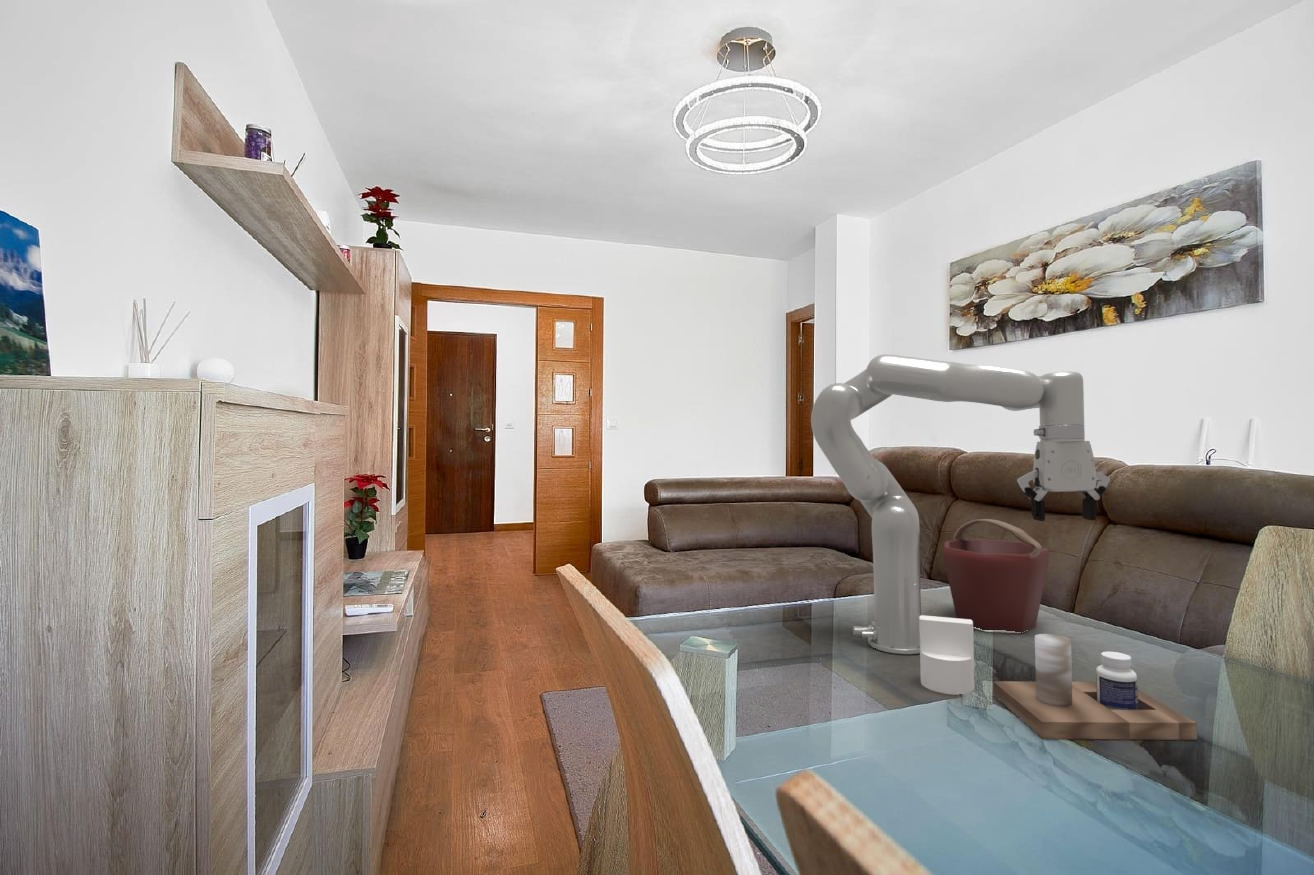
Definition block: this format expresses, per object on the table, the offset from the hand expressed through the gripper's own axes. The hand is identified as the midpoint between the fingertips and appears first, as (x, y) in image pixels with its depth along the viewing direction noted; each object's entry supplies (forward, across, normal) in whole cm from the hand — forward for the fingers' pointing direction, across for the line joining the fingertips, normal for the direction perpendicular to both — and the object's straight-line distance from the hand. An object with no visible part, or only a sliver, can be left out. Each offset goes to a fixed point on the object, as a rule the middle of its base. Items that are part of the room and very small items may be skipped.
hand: (1064, 519), depth 127 cm
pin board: (+28, -11, -25) cm, 39 cm away
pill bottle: (+28, -6, -25) cm, 38 cm away
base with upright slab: (+29, -28, -12) cm, 42 cm away
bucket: (+28, -3, +26) cm, 39 cm away
